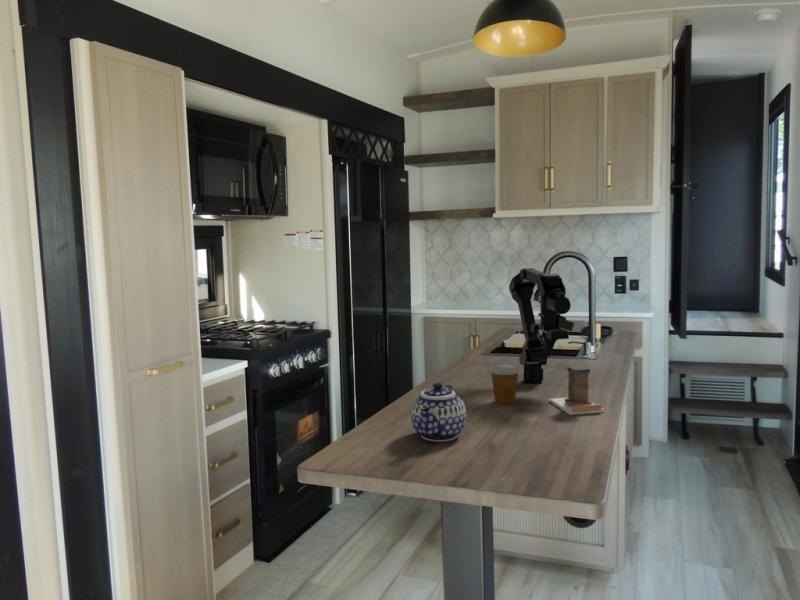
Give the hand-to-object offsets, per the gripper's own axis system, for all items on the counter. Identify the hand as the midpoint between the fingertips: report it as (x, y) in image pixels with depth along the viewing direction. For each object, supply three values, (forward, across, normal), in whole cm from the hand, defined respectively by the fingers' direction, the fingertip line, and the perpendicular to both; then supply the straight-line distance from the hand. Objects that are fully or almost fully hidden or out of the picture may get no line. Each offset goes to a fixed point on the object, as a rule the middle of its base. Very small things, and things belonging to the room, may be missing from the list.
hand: (548, 355), depth 228 cm
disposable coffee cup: (+12, -10, +20) cm, 25 cm away
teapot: (+12, -38, +49) cm, 63 cm away
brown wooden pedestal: (+11, -23, 0) cm, 25 cm away
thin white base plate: (+12, -22, 0) cm, 25 cm away
